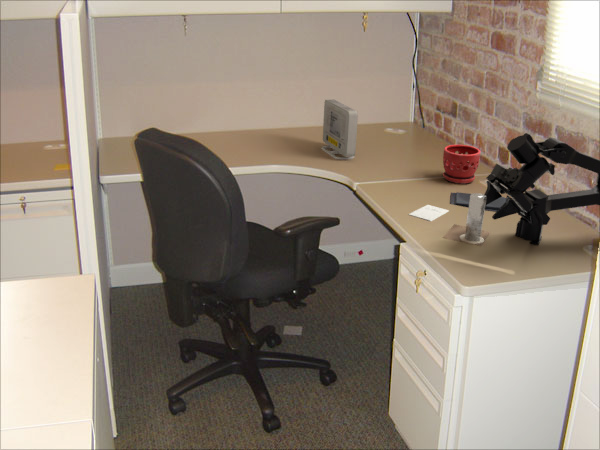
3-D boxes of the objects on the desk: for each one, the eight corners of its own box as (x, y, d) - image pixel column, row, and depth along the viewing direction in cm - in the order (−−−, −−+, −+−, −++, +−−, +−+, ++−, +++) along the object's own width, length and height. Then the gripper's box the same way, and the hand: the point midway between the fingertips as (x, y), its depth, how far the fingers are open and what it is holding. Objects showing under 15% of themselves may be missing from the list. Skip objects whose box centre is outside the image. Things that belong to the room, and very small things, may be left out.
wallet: (449, 203, 210) (451, 188, 224) (448, 208, 211) (450, 193, 224) (512, 210, 206) (510, 195, 219) (511, 215, 206) (509, 200, 220)
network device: (359, 160, 256) (363, 111, 248) (339, 162, 253) (342, 112, 246) (335, 144, 278) (337, 98, 270) (316, 145, 275) (318, 99, 268)
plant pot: (436, 174, 243) (439, 143, 238) (469, 174, 244) (473, 144, 239) (446, 185, 231) (450, 153, 226) (481, 185, 232) (486, 154, 227)
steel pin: (478, 236, 185) (485, 193, 180) (481, 242, 181) (487, 199, 176) (463, 234, 186) (469, 192, 181) (465, 240, 182) (471, 197, 177)
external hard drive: (407, 218, 201) (426, 208, 210) (430, 225, 196) (449, 214, 205) (407, 213, 200) (427, 203, 209) (431, 220, 195) (449, 210, 204)
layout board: (490, 234, 189) (490, 231, 189) (480, 248, 180) (481, 245, 179) (454, 226, 194) (454, 223, 194) (442, 240, 184) (442, 236, 184)
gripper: (497, 146, 184) (456, 183, 186) (529, 165, 167) (483, 206, 169) (518, 171, 188) (478, 207, 191) (551, 192, 171) (507, 232, 174)
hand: (485, 212), depth 181 cm, fingers open, 9 cm apart
